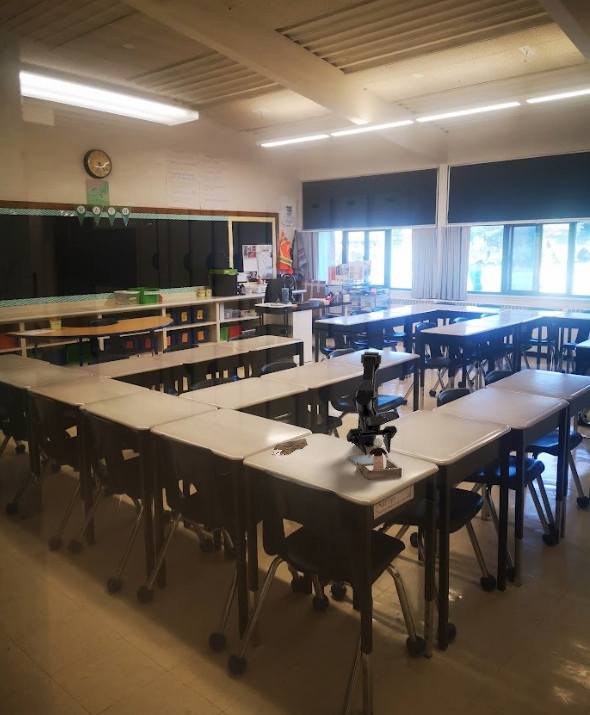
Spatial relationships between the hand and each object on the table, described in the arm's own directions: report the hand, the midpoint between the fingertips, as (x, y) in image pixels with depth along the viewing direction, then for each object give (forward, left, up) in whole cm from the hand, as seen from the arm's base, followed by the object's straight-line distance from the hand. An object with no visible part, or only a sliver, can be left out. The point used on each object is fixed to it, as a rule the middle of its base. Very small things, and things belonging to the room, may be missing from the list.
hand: (377, 453), depth 221 cm
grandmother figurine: (0, 0, -7) cm, 7 cm away
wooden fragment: (+6, -43, -7) cm, 44 cm away
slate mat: (-5, -11, -7) cm, 14 cm away
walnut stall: (0, +1, -7) cm, 7 cm away
